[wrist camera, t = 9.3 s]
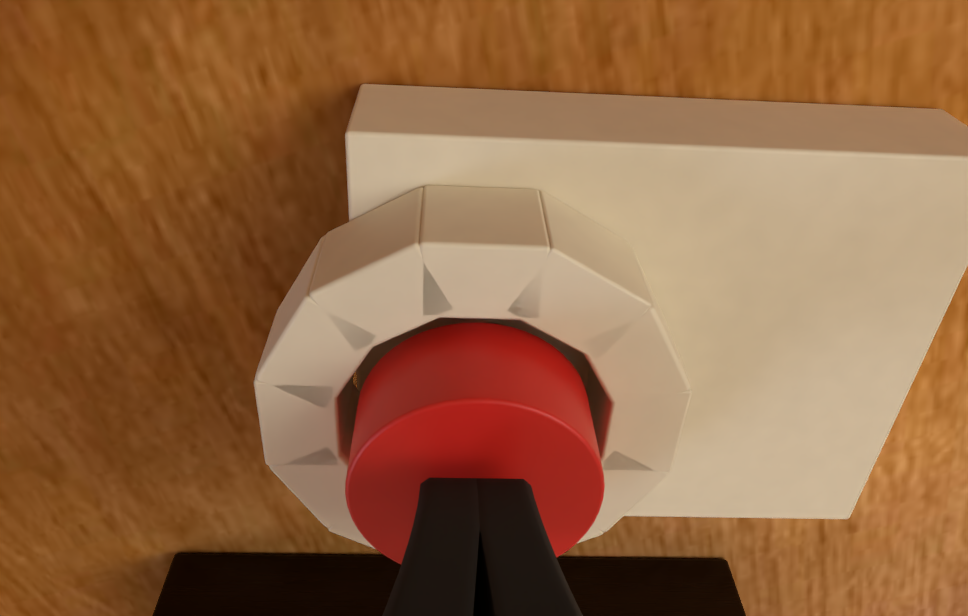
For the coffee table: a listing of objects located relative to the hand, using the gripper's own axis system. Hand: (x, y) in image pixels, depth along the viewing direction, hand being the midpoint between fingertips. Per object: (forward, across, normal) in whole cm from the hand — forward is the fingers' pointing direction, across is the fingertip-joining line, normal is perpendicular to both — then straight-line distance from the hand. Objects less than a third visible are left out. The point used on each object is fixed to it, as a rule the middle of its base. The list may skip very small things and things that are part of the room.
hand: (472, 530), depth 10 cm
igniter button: (+2, 0, 0) cm, 2 cm away
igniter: (+6, -3, 0) cm, 7 cm away
